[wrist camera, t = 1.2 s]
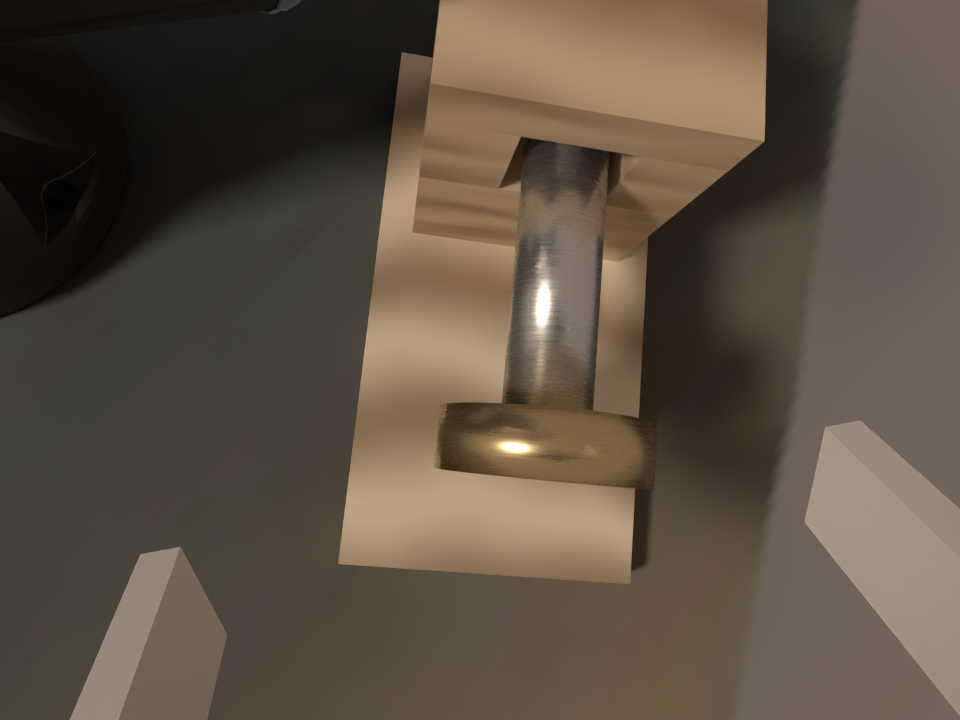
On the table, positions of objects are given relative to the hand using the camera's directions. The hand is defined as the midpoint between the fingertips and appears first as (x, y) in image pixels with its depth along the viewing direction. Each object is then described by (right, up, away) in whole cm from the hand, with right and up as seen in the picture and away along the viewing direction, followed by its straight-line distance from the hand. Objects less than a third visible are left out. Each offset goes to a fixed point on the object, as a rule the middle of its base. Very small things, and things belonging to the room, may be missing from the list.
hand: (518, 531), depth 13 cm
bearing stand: (0, +5, +17) cm, 18 cm away
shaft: (+1, +5, +12) cm, 13 cm away
